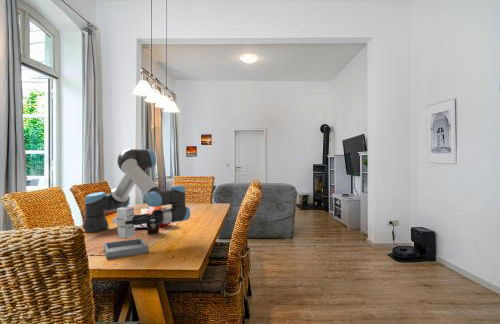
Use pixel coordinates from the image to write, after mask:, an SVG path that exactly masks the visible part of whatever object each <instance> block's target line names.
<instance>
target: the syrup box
mask: <svg viewBox="0 0 500 324" xmlns="http://www.w3.org/2000/svg"><path fill="white" fill-rule="evenodd" d="M134 215H135V207H132V206H128V207H121V208H118V209H117V210H116V218H117V221H118V220H126V219H132V218H134ZM116 227H117V228H116V229H117V236H116V237H117V239H125V240H129V239H131V238H133V237H135V225H133V224H132V225H126V226H117V225H116Z"/></svg>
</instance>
